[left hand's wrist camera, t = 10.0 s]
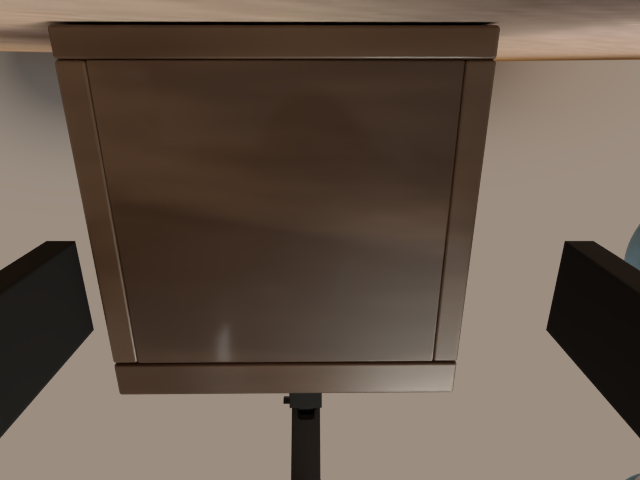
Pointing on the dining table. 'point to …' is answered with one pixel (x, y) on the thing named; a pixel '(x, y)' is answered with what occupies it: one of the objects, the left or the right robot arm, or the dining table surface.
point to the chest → (279, 185)
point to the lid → (285, 377)
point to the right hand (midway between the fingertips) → (302, 397)
